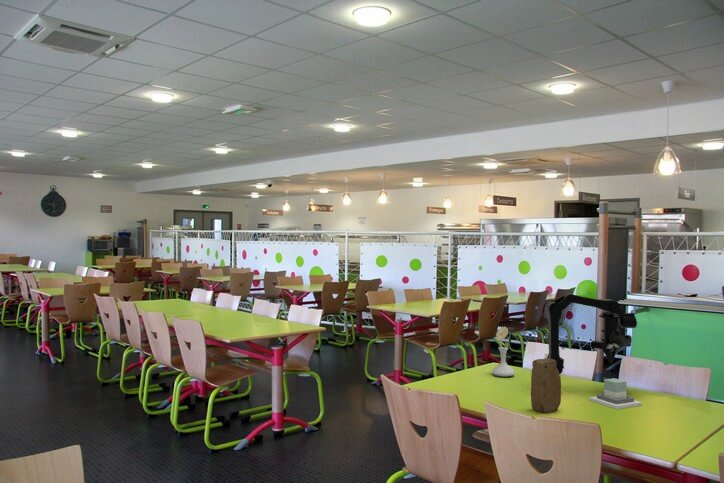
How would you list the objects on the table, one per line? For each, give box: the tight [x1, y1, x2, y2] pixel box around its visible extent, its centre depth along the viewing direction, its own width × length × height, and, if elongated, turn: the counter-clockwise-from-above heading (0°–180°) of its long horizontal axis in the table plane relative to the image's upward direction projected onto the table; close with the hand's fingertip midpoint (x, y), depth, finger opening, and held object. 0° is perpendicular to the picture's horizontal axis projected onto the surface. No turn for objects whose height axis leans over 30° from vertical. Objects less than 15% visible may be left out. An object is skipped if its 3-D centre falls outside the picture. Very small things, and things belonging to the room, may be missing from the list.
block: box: [530, 357, 562, 414], centre depth 219 cm, size 11×8×20 cm
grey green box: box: [603, 378, 627, 400], centre depth 230 cm, size 6×6×8 cm
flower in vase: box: [491, 326, 516, 377], centre depth 277 cm, size 13×11×25 cm
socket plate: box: [588, 393, 643, 410], centre depth 230 cm, size 14×14×3 cm
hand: (610, 363), depth 246 cm, fingers closed
